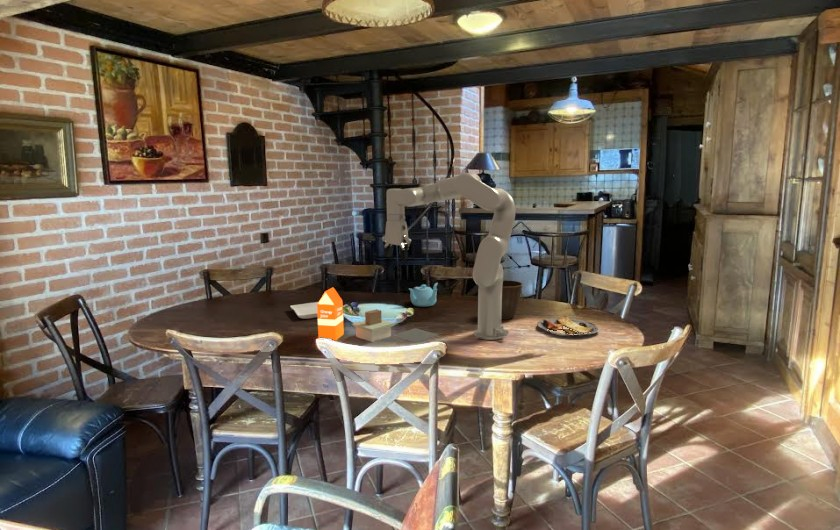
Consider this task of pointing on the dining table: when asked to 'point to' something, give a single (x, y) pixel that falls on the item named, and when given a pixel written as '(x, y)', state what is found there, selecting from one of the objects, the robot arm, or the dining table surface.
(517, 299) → the plant pot
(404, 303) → the dining table surface
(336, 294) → the orange juice
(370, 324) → the lid
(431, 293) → the teapot
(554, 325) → the food plate
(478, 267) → the robot arm
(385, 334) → the open tan box
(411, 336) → the mat
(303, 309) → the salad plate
